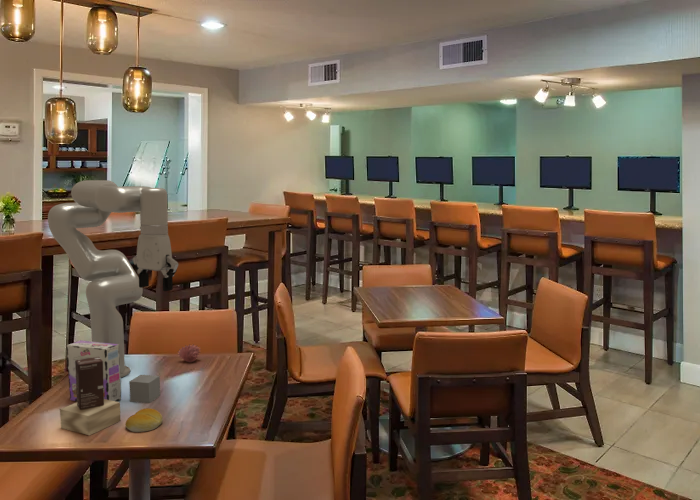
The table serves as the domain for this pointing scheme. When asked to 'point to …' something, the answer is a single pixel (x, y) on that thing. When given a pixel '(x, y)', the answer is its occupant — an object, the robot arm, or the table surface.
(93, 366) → the box
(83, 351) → the candy box
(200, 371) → the table surface
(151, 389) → the grey cube
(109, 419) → the base block
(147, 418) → the bread roll
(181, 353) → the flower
